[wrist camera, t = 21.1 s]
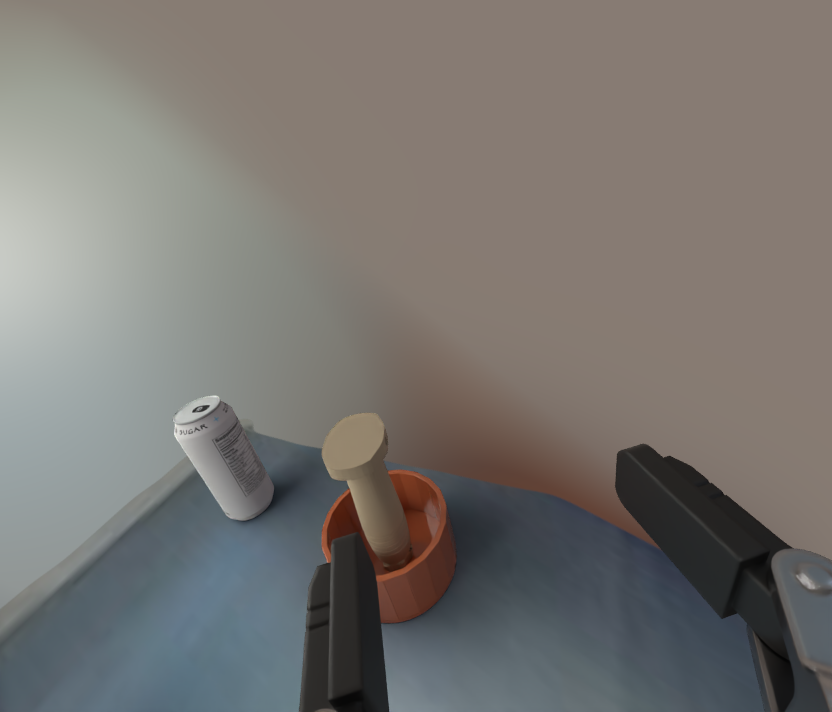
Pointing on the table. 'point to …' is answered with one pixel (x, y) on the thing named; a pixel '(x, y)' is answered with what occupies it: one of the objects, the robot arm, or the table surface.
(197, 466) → the energy drink can
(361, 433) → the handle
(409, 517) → the holder
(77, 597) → the table surface
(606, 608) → the table surface
